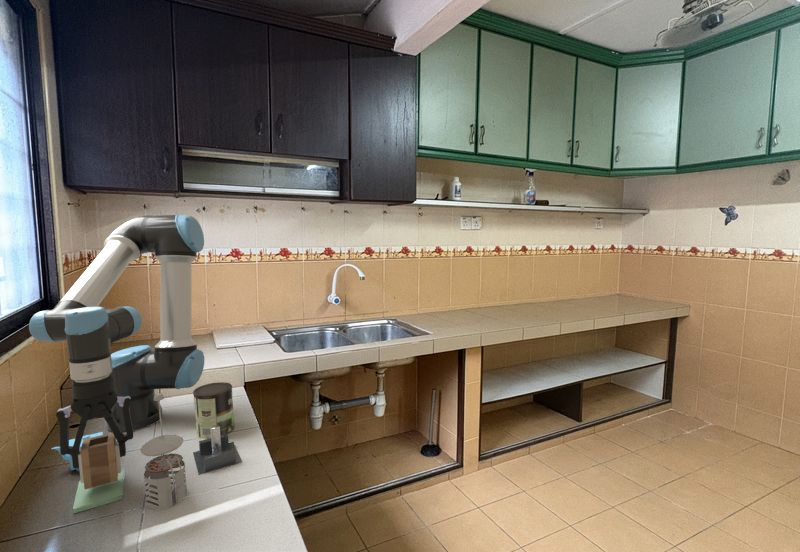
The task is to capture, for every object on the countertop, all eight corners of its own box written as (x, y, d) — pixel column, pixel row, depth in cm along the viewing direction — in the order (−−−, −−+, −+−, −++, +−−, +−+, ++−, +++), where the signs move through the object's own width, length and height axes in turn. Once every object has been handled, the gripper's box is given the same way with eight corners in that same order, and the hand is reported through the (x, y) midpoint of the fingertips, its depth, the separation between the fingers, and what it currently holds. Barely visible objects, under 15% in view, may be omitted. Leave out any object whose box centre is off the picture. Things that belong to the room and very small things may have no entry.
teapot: (53, 479, 101) (50, 450, 100) (54, 468, 106) (51, 440, 105) (113, 462, 108) (110, 434, 107) (111, 452, 113) (109, 425, 112)
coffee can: (233, 423, 128) (230, 379, 127) (236, 438, 119) (233, 391, 118) (196, 431, 124) (193, 385, 122) (196, 447, 115) (192, 398, 113)
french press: (181, 484, 98) (172, 382, 95) (204, 504, 91) (196, 394, 88) (134, 506, 90) (123, 395, 88) (155, 530, 83) (145, 410, 80)
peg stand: (193, 457, 109) (190, 423, 108) (233, 446, 115) (231, 413, 114) (199, 480, 99) (196, 443, 98) (242, 467, 105) (240, 431, 103)
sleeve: (87, 476, 96) (83, 439, 95) (118, 468, 100) (115, 432, 99) (84, 489, 91) (80, 450, 90) (117, 480, 95) (113, 442, 94)
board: (79, 484, 98) (79, 480, 98) (130, 471, 104) (129, 467, 104) (73, 513, 88) (72, 509, 88) (129, 497, 94) (128, 492, 93)
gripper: (32, 391, 85) (45, 498, 87) (142, 373, 95) (150, 469, 97) (40, 380, 91) (51, 480, 94) (142, 364, 101) (149, 455, 104)
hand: (101, 474), depth 95 cm, fingers closed on sleeve, 6 cm apart
